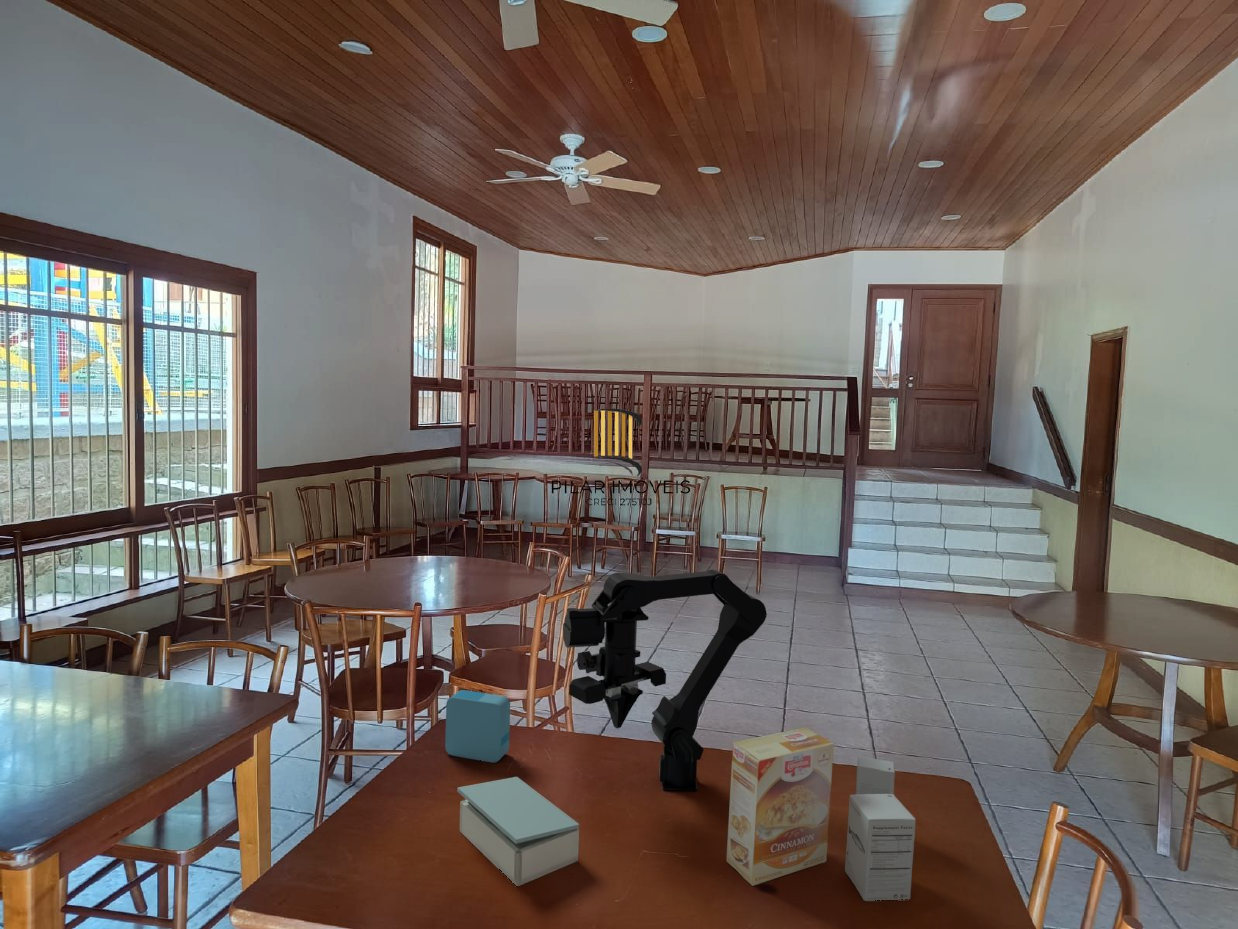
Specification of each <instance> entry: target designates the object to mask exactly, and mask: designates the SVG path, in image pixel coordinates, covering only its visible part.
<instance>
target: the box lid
mask: <svg viewBox="0 0 1238 929" xmlns="http://www.w3.org/2000/svg"><path fill="white" fill-rule="evenodd" d="M456 792H457V793H458V794H460V795H461V796H462V797H463V798H464V800H467V801H469V802H470V803H471V804H472V805H473V806H474V807H475V808H476V809H478V810H479V811H480V812H481V813H482V814H483V815H484V816H485V817H486V818H488V819H489V820H490V821H491V822H492V823H493V824H494V825H495V826H496V827H498V828H499V829H500V830H501V831H502V832H503V833H504V834H505V835H507V836H508V837H509V838H510V839H511V840H512V841H513V842H514V843H515V844H517V843H521V842H525V841H529V840H533V839H537V838H541V837H545V836H549V835H553V834H557V833H561V832H565V831H569V830H573V829H579V828H580V823H578V822H577V821H576V820H575V819H574V818H572V817H570V816H569V815H568V814H567V813H565V812H564V811H563V810H561V809H560V808H559V807H557V806H556V805H555V804H554V803H552V802H551V801H550V800H548V799H547V798H546V797H544V796H543V795H542V794H540V793H539V792H538V791H536V790H535V789H534V788H532V787H531V786H530V785H528V784H527V783H526V782H524V781H523V779H521V778H519V776H513V777H508V778H502V779H497V780H492V781H486V782H482V783H480V782H479V783H475V784H470V785H464V786H458V787H457V790H456Z"/></svg>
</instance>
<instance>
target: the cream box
mask: <svg viewBox="0 0 1238 929" xmlns="http://www.w3.org/2000/svg"><path fill="white" fill-rule="evenodd" d="M459 832H460V833H461V834H462V835H463V836H464V837H465V838H466V839H467V840H468V841H470V842H471V844H473V846H474V847H475V848H476V849H478V851H479V852H480V853H482V854H483V855H484V856H485V858H487V859H488V860H489V861H490V862H491V863H492V865H493V866H495V867H496V868H497V869H498V870H499V869H500V870H501V871H502V872H501V871H500V870H499V871H500V872H501V874H503V873H504V874H505V875H506V876H507V877H508V878H509V879H510V880H511V881H512V882H511V881H510V880H509V879H508V878H507V877H506V876H505V875H504V874H503V875H504V876H505V877H506V878H507V879H508V880H509V881H510V882H511V884H513V883H514V884H515V885H516V886H518V887H519V886H522V885H525V884H526V883H527V884H528V883H530V882H532V881H534V880H536V879H539V878H541V877H543V876H547V875H548V874H550V873H553V872H555V871H557V870H560V869H562V868H564V867H567V866H569V865H571V864H574V863H577V862H578V861H579V844H580V843H579V840H580V829H579V828H577V829H573V830H569V831H565V832H561V833H557V834H553V835H549V836H545V837H541V838H537V839H533V840H529V841H525V842H521V843H517V844H515V843H514V842H513V841H512V840H511V839H510V838H509V837H508V836H507V835H505V834H504V833H503V832H502V831H501V830H500V829H499V828H498V827H496V826H495V825H494V824H493V823H492V822H491V821H490V820H489V819H488V818H486V817H485V816H484V815H483V814H482V813H481V812H480V811H479V810H478V809H476V808H475V807H474V806H473V805H472V804H471V803H470V802H469V801H467V800H466V799H463V800H460V802H459ZM514 884H513V885H514ZM515 885H514V886H515ZM516 886H515V887H516Z"/></svg>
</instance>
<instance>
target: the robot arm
mask: <svg viewBox="0 0 1238 929" xmlns="http://www.w3.org/2000/svg"><path fill="white" fill-rule="evenodd" d="M706 595H713V596H714V597H715V598H716V599H717V600H718V601H719V602H720V603H721V604H722V605H723V606H722V609H721V611H720V613H719V620H718V627H717V630H716V632H715V634H714V636H713V637H712V639H711V640H710V642H709V643H708V646H707V647H706V648H705V649H704V652H703V653H702V655H701V656H700V658H699V660H698V661H697V663H696V664H695V666H694V667H693V669H692V671H691V673H690V674H689V676H688V678H686V681H685V682H684V684H683V685H682V687H681V689H680V690H679V692H678V693H676V695H674V696H673V697H672V698H668V697H666V696H665V695H664V696H663V697H662V698H661V699H660V701H659V704H658V706H656V707H657V708H656V709H655V710H654V711H652V713H651V714H652V715H653V717H652V720H651V724H650V725H651V728H652V731H653V734H654V735H655V736H656V737H657V739H658V740H659V741H660V742H661V744H662V745H663V749H662V750H663V751H662V754H660V755H659V769H658V770H659V772H658V773H659V774H658V775H659V776H658V777H659V783H661V789H662V790H664V791H679V792H680V791H681V792H683V791H684V792H697V791H698V783H697V782H698V781H697V774H698V773H697V772H698V771H697V770H698V761H700V760H701V758H702V757H703V756H702V755H703V753H704V748H703V746H701V744H700V743H699V742H698V741H697V740H696V739H695V738H694V735H695V732H696V730H697V728H698V722H699V714H700V709H701V708H702V706H703V704H704V703H705V701H706V700H707V698H708V696H709V695H710V693H711V691H712V689H713V687H715V684H716V683H717V681H718V680H719V679H720V677H721V675H722V673H723V671H725V669H726V666H727V665H728V664H729V662H730V660H731V659H732V657H733V656H734V654H735V652H736V651H737V649H738V648H739V646H740V644H742V643H743V642H745V641H747V640H748V639H749V638H751V637H753V636H754V635H755V634H756V633H757V631H758V630H759V629H760V628H761V627H762V626H763V624H764V623H765V622H766V619H767V616H768V613H767V608H766V606H765V604H764V602H762V601H761V600H759V599H758V598H756V597H755V596H752V595H750V594H749V593H747V592H745V591H744V590H743V589H741V588H740V587H739V586H738V585H736V584H735V583H734V582H733V581H732V580H731V579H730V578H729V577H728V575H727V574H725V573H723V572H721V571H719V570H718V569H709V570H705V571H696V572H685V573H676V574H664V575H663V574H662V575H657V576H656V575H655V576H653V575H652V576H651V575H650V576H649V575H643V574H637V573H630V572H629V573H628V572H614V573H611V574H610V575H609V576H608V577H607V579H606V580H605V582H604V584H603V589H602V590H601V592H600V593H599V594H598V596H597V597H596V598H595V599H594V601H593V602H592V603H591V607H590V608H589V607H588V608H577V607H576V608H575V607H568V608H567V609H566V615H565V617H564V621H563V623H562V638H563V642H564V646H565V647H566V649H568V648H569V649H570V648H585V647H597V646H599V645H600V644H603V640H604V645H603V646H600V648H599V650H598V653H594V654H592V653H591V651H590V650H587V651H582V652H577V656H576V657H577V658H576V664H577V668H578V670H579V671H585V674H590V673H594V672H595V675H596V676H598V677H603V679H599V680H598V679H596V678H594V677H591V676H589V675H586V676H583V677H578V678H573V679H572V680H571V681H570V682H569V685H568V695H569V696H570V697H573V698H575V699H576V700H578V701H580V702H582V703H584V704H585V705H587V704H588V705H591V704H596V703H600V702H603V701H604V702H605V704H606V706H607V709H608V712H609V716H610V719H611V722H612V724H613V727H614V728H615V729H621V727H622V726H623V724H624V722H625V721H626V718H627V717H628V714H630V711H631V710H632V708H633V706H634V704H635V703H636V702H637V700H638V699H639V697H640V696H641V695H643V693H644V690H643V689H640V688H639V683H640V682H643V681H647V680H650V683H651V686H653V687H658V686H659V687H660V686H662V685H666V684H667V673H666V671H665V669H664V668H663V667H662V666H659V665H657V664H654V663H652V662H649V661H644V662H640V663H637V664H636V659H637V658H640V657H641V650H638V649H637V631H638V629H637V628H638V622H639V621H641V622H642V621H648V620H649V618H650V617H649V616H648V615H647V614H646V613H645V612H644V611H643V609H642V608H643V607H644V608H645V607H646V606H648V605H650V604H651V603H653V602H657V601H660V600H670V599H678V598H686V597H687V598H688V597H697V596H706Z"/></svg>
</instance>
